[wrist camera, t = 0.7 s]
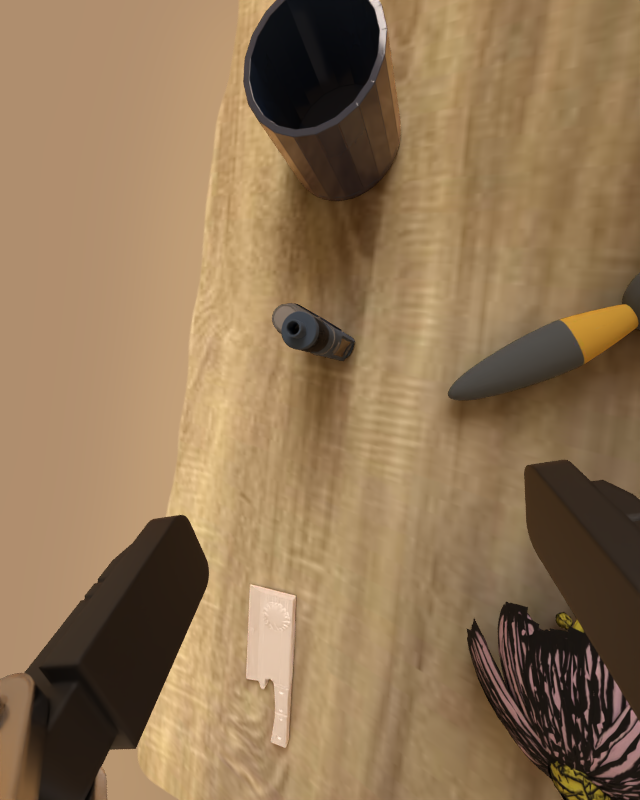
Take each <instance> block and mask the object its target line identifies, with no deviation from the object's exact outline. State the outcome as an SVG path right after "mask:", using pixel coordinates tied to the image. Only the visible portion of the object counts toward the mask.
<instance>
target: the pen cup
mask: <svg viewBox="0 0 640 800" xmlns="http://www.w3.org/2000/svg"><path fill="white" fill-rule="evenodd" d="M243 82H244V88H245V92H246V96H247V101H248V104H249V106H250V108H251V110H252V111H253V113H254V114H255V116H256V118H257V119H258V121H259V122H260V124H261V125H262V127H263V128H264V130H265V131H266V133H267V134H268V136H269V137H270V138H271V140H272V141H273V143H274V144H275V146H276V147H277V149H278V150H279V152H280V153H281V155H282V156H283V157H284V159H285V160H286V162H287V163H288V165H289V166H290V168H291V169H292V171H293V172H294V174H295V175H296V177H297V178H298V179H299V181H300V182H301V184H302V185H303V186H304V187H305V188H306V189H307V190H308V191H309V192H311V193H312V194H313V195H315V196H317V197H319V198H322V199H326V200H332V201H340V200H347V199H351V198H354V197H357V196H359V195H361V194H363V193H365V192H366V191H368V190H369V189H371V188H372V187H373V186H374V185H376V184H377V183H378V182H379V181H380V180H381V179H382V178H383V176H384V175H385V174H386V172H387V171H388V170H389V168H390V166H391V165H392V163H393V161H394V159H395V156H396V154H397V151H398V148H399V143H400V136H401V126H400V125H401V120H400V113H399V106H398V99H397V92H396V85H395V78H394V71H393V64H392V57H391V50H390V43H389V36H388V29H387V24H386V20H385V16H384V12H383V7H382V5H381V3H380V1H379V0H276V1H275V2H274V3H273V4H272V5H271V6H270V7H269V9H268V10H267V11H266V12H265V14H264V15H263V17H262V19H261V20H260V22H259V24H258V26H257V27H256V29H255V31H254V32H253V35H252V37H251V40H250V43H249V47H248V50H247V53H246V56H245V63H244V80H243Z"/></svg>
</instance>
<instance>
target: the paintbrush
mask: <svg viewBox="0 0 640 800" xmlns="http://www.w3.org/2000/svg"><path fill="white" fill-rule="evenodd" d="M635 328H636V329H638V330H640V273H639V274H638V275H637V276H636V277H635V278H634V279H633V280H632V281H631V283H630V284H629V285H628V287H627V289H626V291H625V293H624V296H623V299H622V305H617V306H612V307H607V308H602V309H598V310H594V311H590V312H586V313H581V314H577V315H574V316H570V317H566V318H563V319H560V320H557V321H554V322H552V323H550V324H548V325H545V326H543V327H541V328H539V329H537V330H535V331H533V332H531V333H529V334H527V335H525V336H523V337H521V338H520V339H518V340H516V341H514V342H512V343H511V344H509V345H507V346H505V347H504V348H502V349H500V350H499V351H497V352H495V353H494V354H492V355H490V356H489V357H487V358H486V359H484V360H483V361H481V362H480V363H478V364H477V365H475V366H474V367H472V368H471V369H470V370H468V371H467V372H466V373H464V374H463V375H462V376H461V377H460V378H459V379H458V380H457V381H456V382H455V383H454V384H453V385H452V386H451V388H450V390H449V392H448V396H449V397H450V398H451V399H454V400H474V399H481V398H486V397H490V396H494V395H498V394H502V393H506V392H510V391H513V390H517V389H520V388H523V387H526V386H530V385H533V384H536V383H539V382H541V381H544V380H547V379H550V378H553V377H555V376H558V375H560V374H563V373H565V372H568V371H570V370H573V369H575V368H577V367H579V366H581V365H583V364H585V363H587V362H588V361H590V360H591V359H593V358H595V357H596V356H598V355H599V354H601V353H602V352H604V351H605V350H606V349H608V348H609V347H611V346H612V345H614V344H615V343H617V342H618V341H619V340H621V339H622V338H623V337H625V336H626V335H628V334H629V333H630V332H631V331H633V330H634V329H635Z"/></svg>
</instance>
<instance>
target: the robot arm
mask: <svg viewBox="0 0 640 800" xmlns="http://www.w3.org/2000/svg"><path fill="white" fill-rule="evenodd" d="M524 478H525V501H526V522H527V529H528V533H529V536H530V540H531V542H532V545H533V547H534V549H535V551H536V553H537V555H538V556H539V558H540V560H541V561H542V563H543V565H544V566H545V568H546V569H547V571H548V573H549V574H550V576H551V578H552V579H553V581H554V583H555V584H556V586H557V587H558V589H559V591H560V592H561V594H562V596H563V597H564V599H565V600H566V602H567V604H568V605H569V607H570V609H571V610H572V612H573V614H574V615H575V617H576V618H577V620H578V622H579V623H580V625H581V627H582V628H583V630H584V632H585V633H586V635H587V636H588V638H589V640H590V641H591V643H592V645H593V646H594V648H595V649H596V651H597V653H598V654H599V656H600V658H601V659H602V661H603V663H604V664H605V666H606V667H607V669H608V671H609V672H610V674H611V676H612V677H613V679H614V680H615V682H616V684H617V685H618V687H619V689H620V690H621V692H622V694H623V695H624V697H625V698H626V700H627V702H628V703H629V705H630V707H631V708H632V710H633V712H634V713H635V715H636V716H637V718H638V720H639V721H640V500H639V499H638V498H637V497H636V496H635V495H633V494H631V493H629V492H627V491H625V490H623V489H621V488H619V487H617V486H615V485H613V484H611V483H608V482H606V481H604V480H599V481H590V480H589V479H588V478H587V477H586V476H585V475H584V474H583V473H582V472H580V471H579V470H578V469H577V468H576V467H575V466H574V465H573V464H572V463H571V462H570V461H568V460H559V461H552V462H546V463H539V464H532V465H527V466H526V467H525V472H524ZM208 578H209V567H208V562H207V559H206V557H205V555H204V553H203V550H202V548H201V546H200V544H199V541H198V539H197V537H196V535H195V533H194V530H193V528H192V526H191V524H190V522H189V520H188V518H187V517H186V516H184V515H178V516H171V517H164V518H158V519H153V520H151V521H150V522H149V523H148V524H147V525H146V526H145V528H144V529H143V530H142V532H141V533H140V534H139V535H138V537H137V538H136V540H135V541H134V542H133V543H132V544H131V545H130V546H129V547H128V548H126V549H125V550H124V551H123V552H122V553H121V554H119V555H118V556H117V557H116V558H115V559H114V560H113V561H112V562H111V563H110V564H109V566H108V567H107V568H106V570H105V571H104V572H103V574H102V575H101V576H100V577H99V578H98V583H95V584H94V585H93V586H92V587H91V589H90V590H89V591H88V592H87V594H86V595H85V599H84V600H82V601H80V603H79V604H78V605H77V607H76V608H75V609H74V610H73V612H72V613H71V614H70V615H69V617H68V618H67V619H66V621H65V622H64V623H63V625H62V626H61V627H60V629H58V631H57V632H56V633H55V635H54V636H53V637H52V638H51V640H50V641H49V642H48V644H47V645H46V646H45V647H44V649H43V650H42V651H41V652H40V654H39V655H38V657H37V658H36V659H35V660H34V661H33V663H32V664H31V665H30V666H29V668H28V669H27V670H26V671H25V673H17V674H12V675H9V676H6V677H4V678H1V679H0V800H107V780H106V774H105V771H104V769H103V768H102V767H101V766H102V764H103V762H104V760H105V758H106V756H107V754H108V751H109V750H110V749H136V747H137V745H138V742H139V740H140V738H141V736H142V733H143V731H144V729H145V726H146V724H147V722H148V720H149V717H150V715H151V713H152V710H153V708H154V706H155V704H156V701H157V699H158V697H159V695H160V692H161V690H162V688H163V685H164V683H165V681H166V679H167V676H168V674H169V672H170V669H171V667H172V665H173V663H174V660H175V658H176V656H177V654H178V651H179V649H180V647H181V644H182V642H183V640H184V638H185V635H186V633H187V631H188V628H189V626H190V624H191V622H192V619H193V617H194V615H195V613H196V610H197V608H198V606H199V603H200V601H201V599H202V597H203V594H204V592H205V590H206V587H207V584H208Z"/></svg>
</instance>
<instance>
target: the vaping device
mask: <svg viewBox="0 0 640 800" xmlns="http://www.w3.org/2000/svg"><path fill="white" fill-rule="evenodd" d="M318 317H320V316H318V315H316V314H314V313H313V312H311V311H309V310H307V309H305V308H304V307H302V306H300V305H298V304H293V303H289V304H282V305H280V306H278V307H277V308H276V309H275V310H274V312H273V315H272V322H273V325H274V327H275V328H276V329H277V331H278V332H279V333H281V334H282V338H283V340H284V342H285V343H286V344H287V345H288V346H289V347H291V348H293V349H297V350H301V351H306V352H310V353H312V354H314V355H319V356H323V357H325V358H326V357H328V358H332V359H337V360H341V361H344V359H346V358H347V357H348V356H349V355H350V354H351V352H352V350H353V347H354V342H355V340H354V339H353V338H352V337H351V336H349V335H347V334H346V333H344V332H342V331H341V329H339V328H338V327H336V326H334V325H333V324H331V323H329V322H328V321H326V320H325V319H323V318H321V317H320V318H321V319H320V318H318Z"/></svg>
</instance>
